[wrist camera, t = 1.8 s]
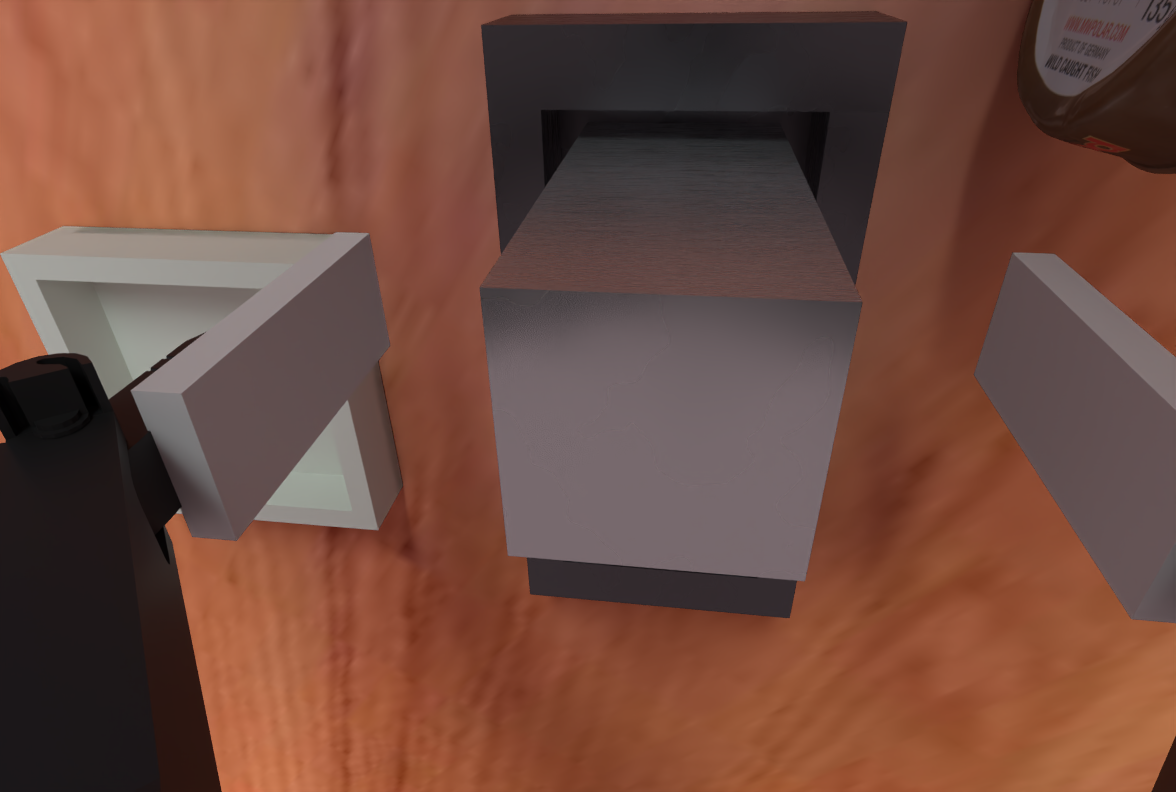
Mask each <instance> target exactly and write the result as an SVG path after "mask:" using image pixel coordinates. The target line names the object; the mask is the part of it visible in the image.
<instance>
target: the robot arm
mask: <svg viewBox="0 0 1176 792" xmlns="http://www.w3.org/2000/svg"><path fill="white" fill-rule="evenodd" d="M389 346H390V342H389V337H388V331H387V326H386V321H385V315H384V310H383V305H382V299H381V294H380V288H379V283H378V278H377V272H376V267H375V262H374V256H373V251H372V245H371V240H370V235H369V233H346V232H335V233H334V234H333V235H331V236H330V237H329V238H328V239H326V240H325V241H324V242H322V243H321V244H320V245H319V246H317V247H316V248H315V249H313V250H312V251H311V252H309V253H308V254H307V255H306V256H304V257H303V258H302V259H300V260H299V261H298V262H296V263H295V264H294V265H293V266H291V267H290V268H289V269H287V270H286V271H285V272H284V273H282V274H281V275H280V276H278V277H277V278H276V279H274V280H273V281H272V282H271V283H269V284H268V285H267V286H265V287H264V288H263V289H262V290H260V291H259V292H258V293H256V294H255V295H254V296H252V297H251V298H250V299H249V300H247V301H246V302H245V303H243V304H242V305H241V306H239V307H238V308H237V309H236V310H234V311H233V312H232V313H230V314H229V315H228V316H227V317H225V318H224V319H223V320H221V321H220V322H219V323H217V324H216V325H215V326H214V327H212V328H211V329H210V330H208V331H207V332H205V333H202V334H200V335H198V336H196V337H194V338H191V339H189V340H187V341H185V342H184V343H182V344H181V345H180V346H178V347H177V348H176V349H174V350H173V351H172V352H171V353H169V354H168V355H167V356H166V359H161V360H160V361H159V362H157V363H156V364H155V365H153V366H152V367H151V370H150V371H145V372H144V373H143V374H142V375H140V376H139V377H138V378H136V379H135V380H134V381H132V382H131V383H130V384H128V385H127V386H126V387H124V388H123V389H122V390H120V391H119V392H118V393H116V394H115V395H114V396H113V397H111V398H110V399H108V397H107V395H106V393H105V390H104V388H103V386H102V384H101V381H100V379H99V377H98V375H97V372H96V370H95V368H94V366H93V363H92V362H91V360H90V359H89V358H88V356H85V355H81V354H77V353H56V354H50V355H44V356H38V357H34V358H31V359H28V360H24V361H21V362H17V363H15V364H13V365H10V366H8V367H6V368H4V369H1V370H0V430H1V432H2V434H3V436H4V438H5V439H6V443H0V792H222V791H221V786H220V781H219V776H218V771H217V766H216V761H215V756H214V751H213V746H212V741H211V736H210V731H209V726H208V721H207V716H206V710H205V705H204V700H203V695H202V690H201V685H200V680H199V675H198V670H197V665H196V660H195V655H194V650H193V645H192V640H191V635H190V630H189V625H188V620H187V615H186V610H185V605H184V600H183V595H182V590H181V585H180V580H179V574H178V569H177V564H176V559H175V554H174V549H173V544H172V541H171V539H170V536H169V534H168V532H167V530H166V527H165V524H166V523H167V522H168V521H169V520H170V519H171V518H172V517H173V516H174V515H175V513H176V512H177V511H178V510H179V509H181V511H182V514H183V516H184V518H185V521H186V523H187V525H188V528H189V530H190V533H191V535H192V537H199V538H210V539H222V540H233V541H237V540H238V539H239V537H240V536H241V535H242V534H243V532H244V531H245V530H246V528H247V527H248V526H249V525H250V523H251V522H252V521H253V520H254V518H255V517H256V516H257V514H258V513H259V512H260V511H261V509H262V508H263V507H264V506H265V504H266V503H267V502H268V500H269V499H270V498H271V497H272V495H273V494H274V493H275V492H276V490H277V489H278V488H279V486H280V485H281V484H282V483H283V481H284V480H285V479H286V478H287V476H288V475H289V474H290V472H291V471H292V470H293V469H294V467H295V466H296V465H297V464H298V462H299V461H300V460H301V458H302V457H303V456H304V455H305V453H306V452H307V451H308V450H309V448H310V447H311V446H312V444H313V443H314V442H315V441H316V439H317V438H318V437H319V436H320V434H321V433H322V432H323V430H324V429H325V428H326V427H327V425H328V424H329V423H330V422H331V420H332V419H333V418H334V416H335V415H336V414H337V413H338V411H339V410H340V409H341V408H342V406H343V405H344V404H345V402H346V401H347V400H348V399H349V397H350V396H351V395H352V394H353V392H354V391H355V390H356V388H357V387H358V386H359V385H360V383H361V382H362V381H363V380H364V378H365V377H366V376H367V374H368V373H369V372H370V371H371V369H372V368H373V367H374V366H375V364H376V363H377V362H378V360H379V359H380V358H381V357H382V355H383V354H384V353H385V352H386V350H387V349H388V348H389ZM974 376H975V377H976V379H977V381H978V382H979V384H980V385H981V387H982V388H983V390H984V391H985V393H986V395H987V396H988V398H989V399H990V401H991V402H992V404H993V405H994V407H995V408H996V410H997V412H998V413H999V415H1000V416H1001V418H1002V419H1003V421H1004V422H1005V424H1006V426H1007V427H1008V429H1009V430H1010V432H1011V433H1012V435H1013V436H1014V438H1015V439H1016V441H1017V443H1018V444H1019V446H1020V447H1021V449H1022V450H1023V452H1024V453H1025V455H1026V457H1027V458H1028V460H1029V461H1030V463H1031V464H1032V466H1033V467H1034V469H1035V470H1036V472H1037V474H1038V475H1039V477H1040V478H1041V480H1042V481H1043V483H1044V484H1045V486H1046V488H1047V489H1048V491H1049V492H1050V494H1051V495H1052V497H1053V498H1054V500H1055V501H1056V503H1057V505H1058V506H1059V508H1060V509H1061V511H1062V512H1063V514H1064V515H1065V517H1066V519H1067V520H1068V522H1069V523H1070V525H1071V526H1072V528H1073V529H1074V531H1075V533H1076V534H1077V536H1078V537H1079V539H1080V540H1081V542H1082V543H1083V545H1084V546H1085V548H1086V550H1087V551H1088V553H1089V554H1090V556H1091V557H1092V559H1093V560H1094V562H1095V564H1096V565H1097V567H1098V568H1099V570H1100V571H1101V573H1102V574H1103V576H1104V577H1105V579H1106V581H1107V582H1108V584H1109V585H1110V587H1111V588H1112V590H1113V591H1114V593H1115V595H1116V596H1117V598H1118V599H1119V601H1120V602H1121V604H1122V605H1123V607H1124V608H1125V610H1126V612H1127V613H1128V615H1129V616H1130V618H1131V619H1136V620H1147V621H1159V622H1170V623H1176V357H1175V356H1174V355H1172V354H1171V353H1170V352H1169V351H1168V350H1167V349H1165V348H1164V347H1163V346H1162V345H1161V344H1160V343H1158V342H1157V341H1156V340H1155V339H1154V338H1153V337H1151V336H1150V335H1149V334H1148V333H1147V332H1146V331H1144V330H1143V329H1142V328H1141V327H1140V326H1138V325H1137V324H1136V323H1135V322H1134V321H1133V320H1131V319H1130V318H1129V317H1128V316H1127V315H1126V314H1124V313H1123V312H1122V311H1121V310H1120V309H1119V308H1117V307H1116V306H1115V305H1114V304H1113V303H1112V302H1110V301H1109V300H1108V299H1107V298H1106V297H1105V296H1103V295H1102V294H1101V293H1100V292H1099V291H1098V290H1096V289H1095V288H1094V287H1093V286H1092V285H1091V284H1089V283H1088V282H1087V281H1086V280H1085V279H1084V278H1082V277H1081V276H1080V275H1079V274H1078V273H1077V272H1075V271H1074V270H1073V269H1072V268H1071V267H1069V266H1068V265H1067V264H1066V263H1065V262H1064V261H1062V260H1061V259H1060V258H1059V257H1058V256H1057V255H1055V254H1047V253H1013V252H1012V255H1011V258H1010V262H1009V265H1008V268H1007V271H1006V274H1005V277H1004V281H1003V284H1002V287H1001V290H1000V293H999V297H998V300H997V303H996V306H995V309H994V312H993V316H992V319H991V322H990V325H989V328H988V331H987V335H986V338H985V341H984V344H983V347H982V350H981V354H980V357H979V360H978V363H977V366H976V369H975V373H974ZM1152 792H1176V737H1175V739H1174V741H1173V744H1172V746H1171V748H1170V750H1169V753H1168V755H1167V757H1166V760H1165V762H1164V764H1163V767H1162V769H1161V771H1160V773H1159V776H1158V778H1157V780H1156V783H1155V785H1154V787H1153V790H1152Z"/></svg>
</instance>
